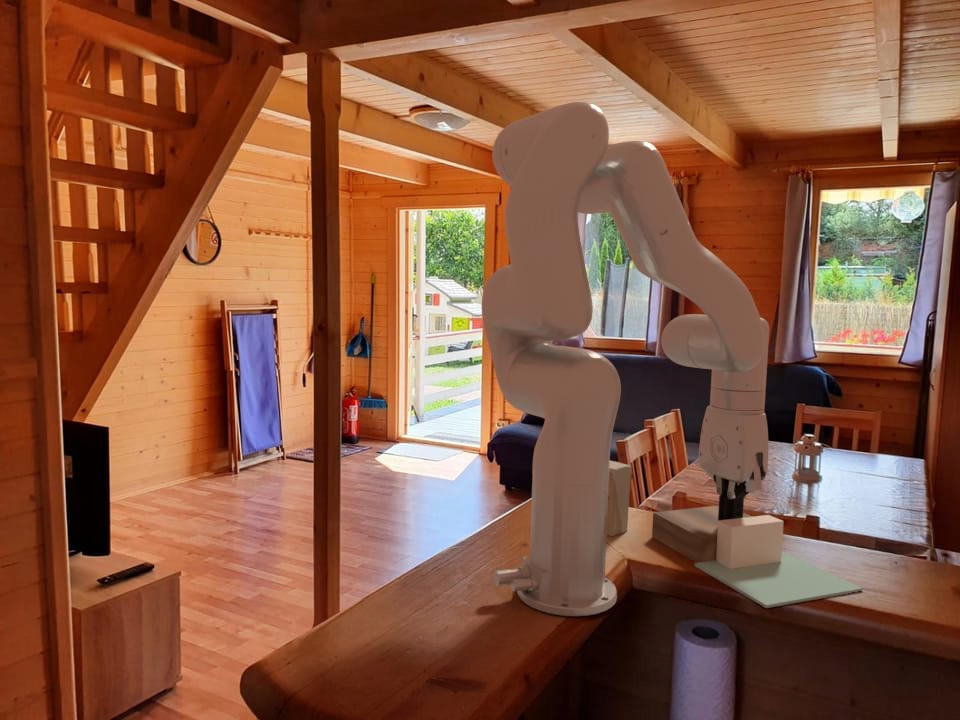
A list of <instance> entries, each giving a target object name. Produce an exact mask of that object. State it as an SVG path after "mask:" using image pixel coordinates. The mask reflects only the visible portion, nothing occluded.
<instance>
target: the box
mask: <svg viewBox="0 0 960 720" xmlns="http://www.w3.org/2000/svg"><path fill="white" fill-rule="evenodd" d="M631 473H632V466H631V465H630V464H625V463H622V462H619V461H613V460H610V462H609V486H608V512H607V536H609V537H615V536H617V535H620V534H623V533H625V532H628V522H629V521H628V520H629V507H630V492H631V491H630V489H631V476H632V475H631Z"/></svg>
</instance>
